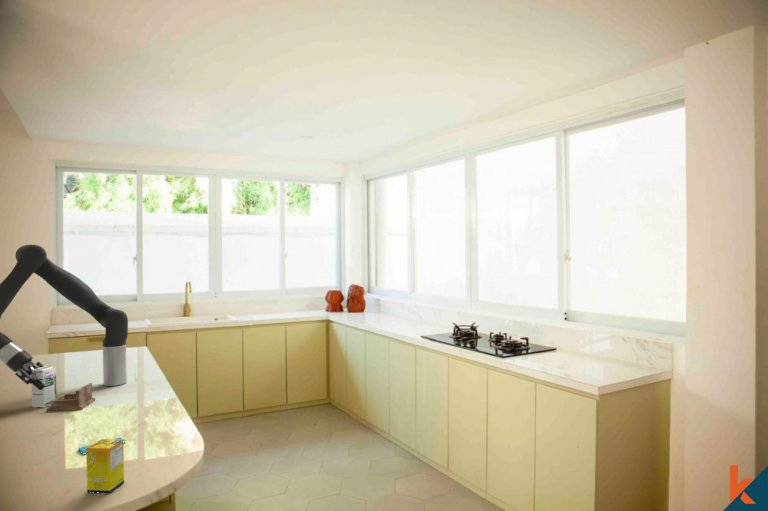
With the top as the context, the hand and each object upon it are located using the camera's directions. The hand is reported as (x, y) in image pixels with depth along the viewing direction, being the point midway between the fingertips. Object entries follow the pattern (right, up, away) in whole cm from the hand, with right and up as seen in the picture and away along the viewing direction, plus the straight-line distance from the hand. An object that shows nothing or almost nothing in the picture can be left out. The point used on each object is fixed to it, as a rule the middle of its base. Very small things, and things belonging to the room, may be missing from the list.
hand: (48, 385), depth 195 cm
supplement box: (+61, -7, -72) cm, 94 cm away
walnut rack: (+10, -7, -2) cm, 13 cm away
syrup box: (-1, -8, 0) cm, 8 cm away
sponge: (+46, -7, -45) cm, 64 cm away
